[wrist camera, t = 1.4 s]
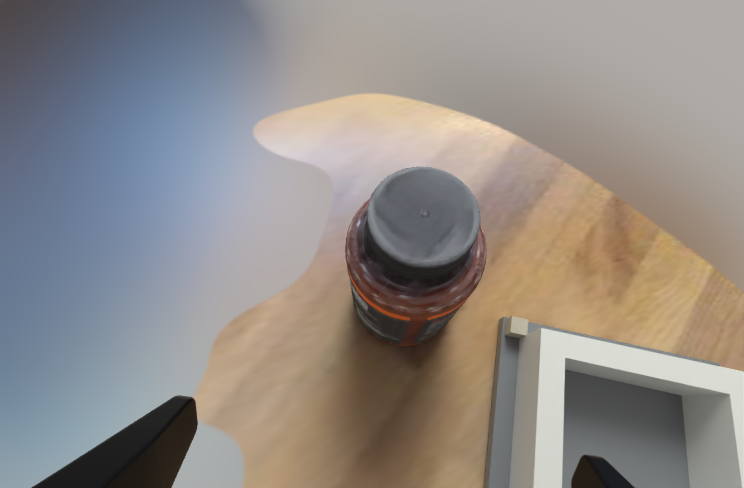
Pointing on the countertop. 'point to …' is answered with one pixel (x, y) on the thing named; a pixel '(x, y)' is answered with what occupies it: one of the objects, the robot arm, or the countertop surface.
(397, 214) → the supplement bottle
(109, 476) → the robot arm
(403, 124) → the countertop surface
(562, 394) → the socket holder
